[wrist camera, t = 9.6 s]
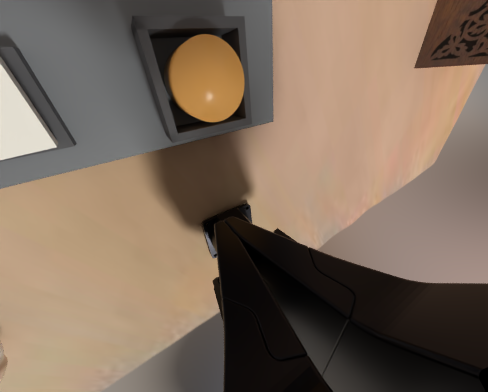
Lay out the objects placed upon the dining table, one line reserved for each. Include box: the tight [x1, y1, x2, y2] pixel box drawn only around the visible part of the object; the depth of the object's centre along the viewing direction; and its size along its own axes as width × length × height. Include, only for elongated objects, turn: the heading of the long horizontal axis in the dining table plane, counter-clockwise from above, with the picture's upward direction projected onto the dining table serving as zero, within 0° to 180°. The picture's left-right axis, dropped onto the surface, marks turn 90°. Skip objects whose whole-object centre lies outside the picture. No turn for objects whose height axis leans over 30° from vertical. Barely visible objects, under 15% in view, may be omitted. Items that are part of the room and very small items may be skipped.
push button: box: [164, 34, 245, 122], centre depth 12 cm, size 4×4×3 cm
